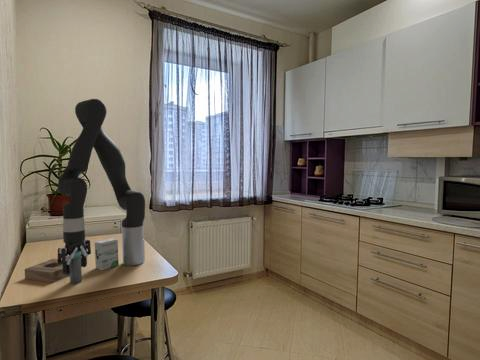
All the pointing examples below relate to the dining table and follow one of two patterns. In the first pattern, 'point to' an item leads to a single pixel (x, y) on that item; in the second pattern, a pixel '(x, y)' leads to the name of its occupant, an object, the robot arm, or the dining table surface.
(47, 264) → the socket
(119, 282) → the dining table surface
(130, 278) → the dining table surface
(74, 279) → the peg
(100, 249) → the ink box
